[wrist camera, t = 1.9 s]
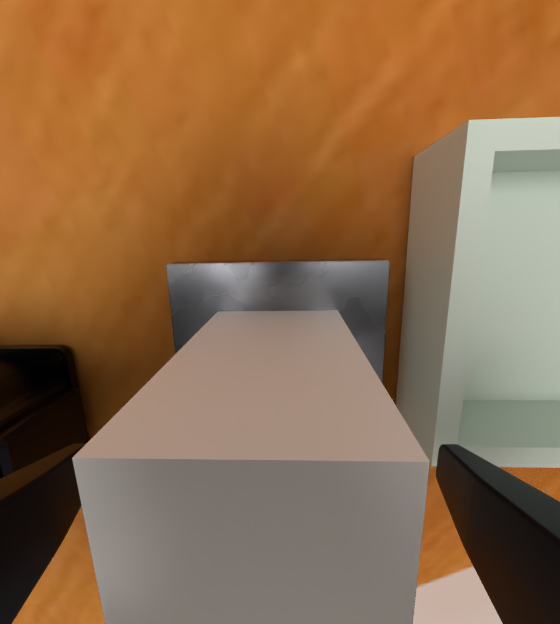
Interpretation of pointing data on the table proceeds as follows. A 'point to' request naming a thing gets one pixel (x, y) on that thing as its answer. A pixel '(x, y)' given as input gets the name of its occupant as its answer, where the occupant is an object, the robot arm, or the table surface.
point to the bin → (485, 294)
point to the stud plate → (284, 294)
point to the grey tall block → (257, 483)
